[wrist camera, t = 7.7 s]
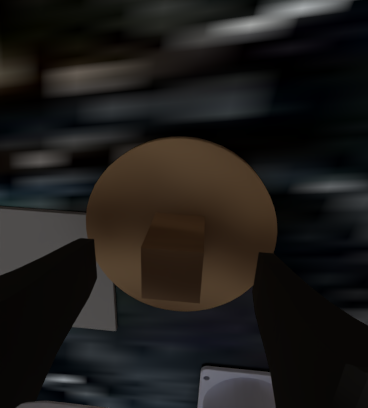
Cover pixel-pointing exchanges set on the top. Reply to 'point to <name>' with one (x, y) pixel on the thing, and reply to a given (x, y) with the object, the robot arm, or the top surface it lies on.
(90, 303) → the mat
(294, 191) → the top surface
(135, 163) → the lid
